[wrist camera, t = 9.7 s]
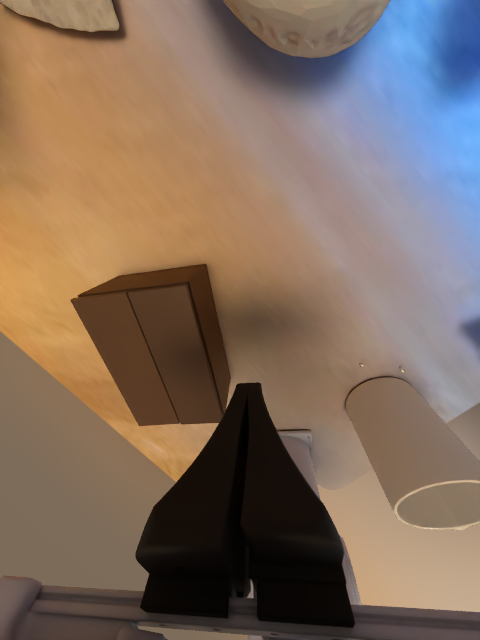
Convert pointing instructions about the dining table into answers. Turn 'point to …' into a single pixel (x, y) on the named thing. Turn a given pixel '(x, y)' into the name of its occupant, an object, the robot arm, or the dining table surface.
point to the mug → (416, 456)
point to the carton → (180, 337)
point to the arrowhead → (69, 13)
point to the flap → (127, 356)
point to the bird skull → (308, 23)
